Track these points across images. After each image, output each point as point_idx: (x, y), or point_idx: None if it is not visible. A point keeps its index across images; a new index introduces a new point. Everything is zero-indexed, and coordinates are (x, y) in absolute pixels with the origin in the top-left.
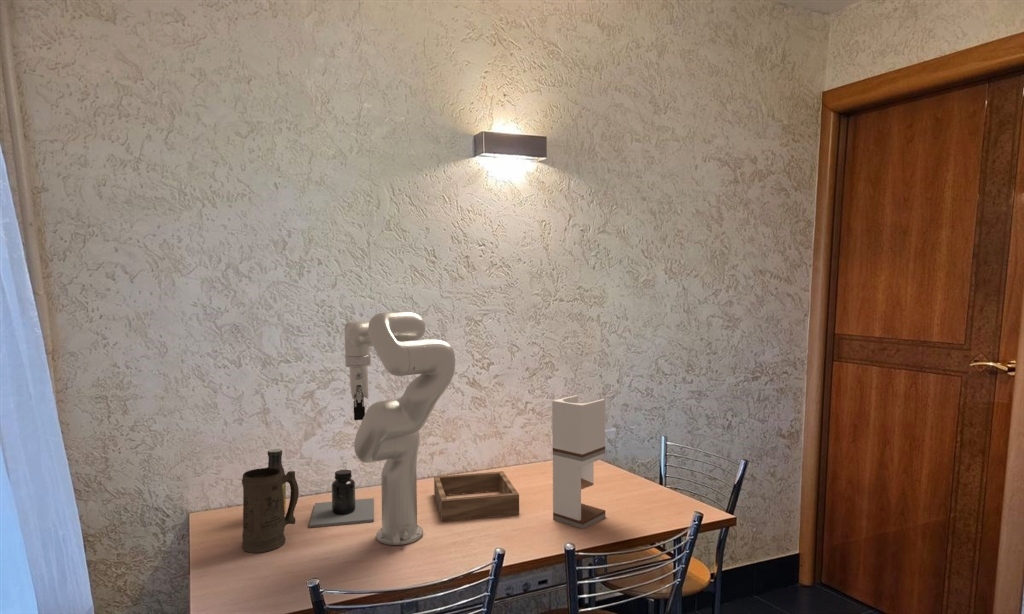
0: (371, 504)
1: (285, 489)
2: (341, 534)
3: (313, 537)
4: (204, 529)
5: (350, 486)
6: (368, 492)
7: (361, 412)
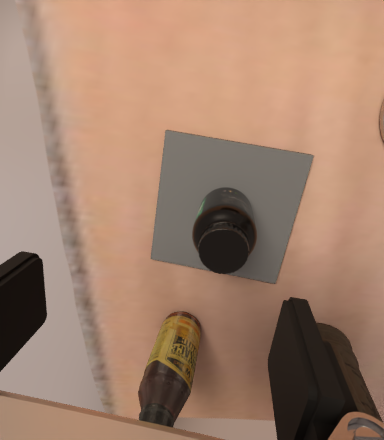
0: (210, 144)
1: (176, 346)
2: (344, 231)
3: (328, 279)
4: (198, 410)
5: (252, 221)
6: (101, 133)
7: (339, 378)
